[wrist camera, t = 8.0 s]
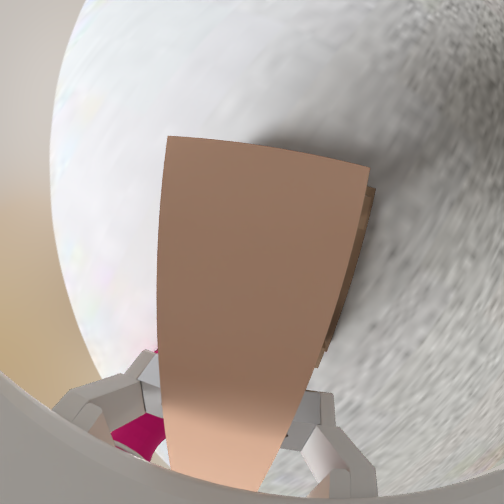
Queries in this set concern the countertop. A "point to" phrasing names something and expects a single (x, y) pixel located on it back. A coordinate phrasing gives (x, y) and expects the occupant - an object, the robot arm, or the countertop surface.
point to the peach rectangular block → (245, 295)
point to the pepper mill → (140, 435)
